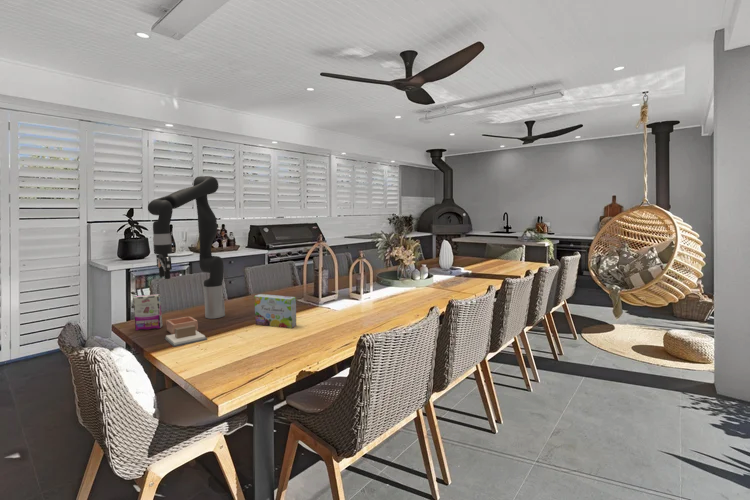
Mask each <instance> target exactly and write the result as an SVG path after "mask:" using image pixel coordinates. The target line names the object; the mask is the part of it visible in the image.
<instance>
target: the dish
mask: <svg viewBox="0 0 750 500" xmlns="http://www.w3.org/2000/svg"><path fill="white" fill-rule="evenodd" d="M165 322H166V324H165V325H166V331H167V332H169V334H170V335H172V334H175V328H179V327H185V326H190V325H194V326H195V327H196V330H197V331H198V332H199V322H198V320H197V319H195V318H194V317H192V316H190V315H189V316H183V317H178V318H177V317H176V318H170V319H166V320H165Z"/></svg>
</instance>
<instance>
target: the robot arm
mask: <svg viewBox="0 0 750 500" xmlns="http://www.w3.org/2000/svg"><path fill="white" fill-rule="evenodd" d="M218 190H219V182H218V179H217V178H216V177H214V176H212V175H202V176H197V177H195V178H194V180H193V186H189V187H186V188H185V187H184V188H182V189H179V190H177V191H174V192H172V193H170V194H168V195H166V196H162V197H158V198H155V199H152V200H151V201H150V202H149V203H148V205H147V211H148V213H149V214H151V215H153V216H158V218H157V220H155V221H154V222H153V223H152V235H153V237H152V241H153V244H152V245H153V254H154V255H155V256H156V268H157V269H158V275H159V277H160V278H163V277H164V279H165V280H170V279H171V270H172V267H173V266H172V257H171V256H169V255H170V254H172V253H173V246H172V236H171V227H170V226H171V221H172V216H173V210H174V209H178V208H180V207H182V206H184V205H185V204H187V203H190V202H192V201H194V200H195V204H196V212H197V213H196V214H197V226H198V238H199V259H198V261H199V263H198V264H199V269H200V271H202V272H203V273H207V274H209V277H208V278H207V279H205V280H204V281H203V293H204V295H203V296H204V298H203V299H204V315H205V316H204V317H205V319H210V320H211V319H220V318H223V317H226V312H225V311H226V310H225V307H226V306H225V298H223V297H224V295H223V281H224V271H225V270H224V261H223V259H222V257H220V256H218V255H212V245H213V242H214V240H215V238H216V236H217V232H218V222H217V217H216V215H215V212H214V211H213V209H212V208H211V207H210V205H209V201H208V195H211V194H214V193H216V192H217V191H218Z"/></svg>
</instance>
